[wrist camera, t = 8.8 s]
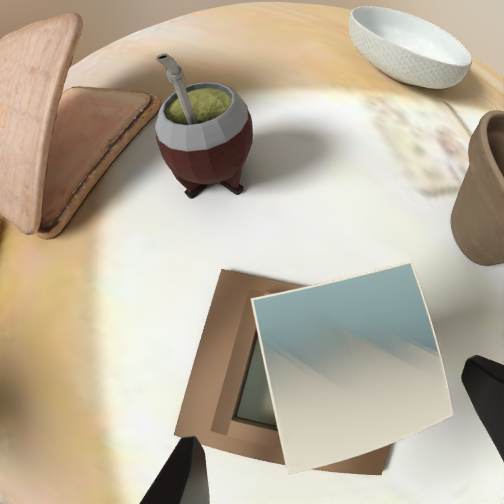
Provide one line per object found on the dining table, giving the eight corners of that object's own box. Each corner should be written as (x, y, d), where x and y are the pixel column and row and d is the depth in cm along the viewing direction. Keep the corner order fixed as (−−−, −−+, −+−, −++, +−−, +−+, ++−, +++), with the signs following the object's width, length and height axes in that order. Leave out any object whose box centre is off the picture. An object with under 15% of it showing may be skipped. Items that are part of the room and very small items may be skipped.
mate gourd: (217, 134, 28) (188, -10, 14) (280, 175, 25) (281, 4, 12) (156, 183, 26) (89, 37, 12) (216, 234, 23) (159, 57, 10)
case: (-17, 196, 29) (-84, 126, 14) (74, 89, 36) (35, 9, 21) (52, 257, 24) (-67, 153, 9) (172, 104, 31) (137, -20, 17)
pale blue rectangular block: (341, 399, 17) (453, 415, 5) (277, 415, 17) (287, 474, 5) (326, 339, 19) (411, 260, 7) (264, 354, 19) (250, 298, 7)
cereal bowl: (476, 116, 29) (495, 77, 22) (365, 101, 29) (377, 49, 23) (425, 51, 36) (435, 17, 29) (331, 37, 36) (335, -2, 30)
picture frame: (410, 310, 20) (425, 300, 18) (378, 473, 15) (390, 482, 13) (222, 271, 22) (217, 258, 20) (176, 433, 17) (164, 439, 15)
